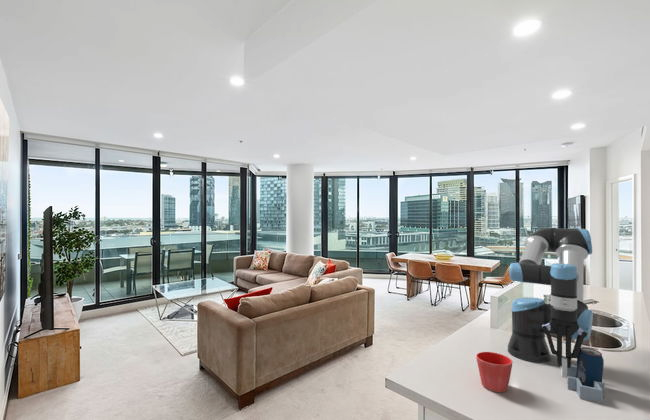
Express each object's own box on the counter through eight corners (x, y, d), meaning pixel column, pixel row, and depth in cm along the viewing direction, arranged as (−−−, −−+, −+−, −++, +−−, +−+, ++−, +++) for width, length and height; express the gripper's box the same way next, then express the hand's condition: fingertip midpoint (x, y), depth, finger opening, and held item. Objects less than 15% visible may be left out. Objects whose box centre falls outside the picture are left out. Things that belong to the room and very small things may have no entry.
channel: (571, 396, 102) (571, 384, 102) (561, 374, 117) (561, 363, 117) (609, 405, 98) (609, 391, 98) (594, 380, 112) (594, 369, 112)
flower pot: (480, 375, 116) (480, 348, 116) (515, 385, 109) (514, 356, 110) (472, 387, 108) (472, 358, 108) (509, 399, 101) (509, 368, 101)
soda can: (602, 386, 109) (605, 351, 108) (600, 394, 104) (602, 358, 103) (577, 377, 114) (579, 344, 113) (573, 384, 109) (576, 350, 108)
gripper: (542, 307, 112) (543, 375, 111) (589, 313, 106) (590, 385, 105) (540, 303, 119) (540, 367, 118) (584, 308, 112) (584, 376, 112)
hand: (564, 375), depth 111 cm, fingers closed
